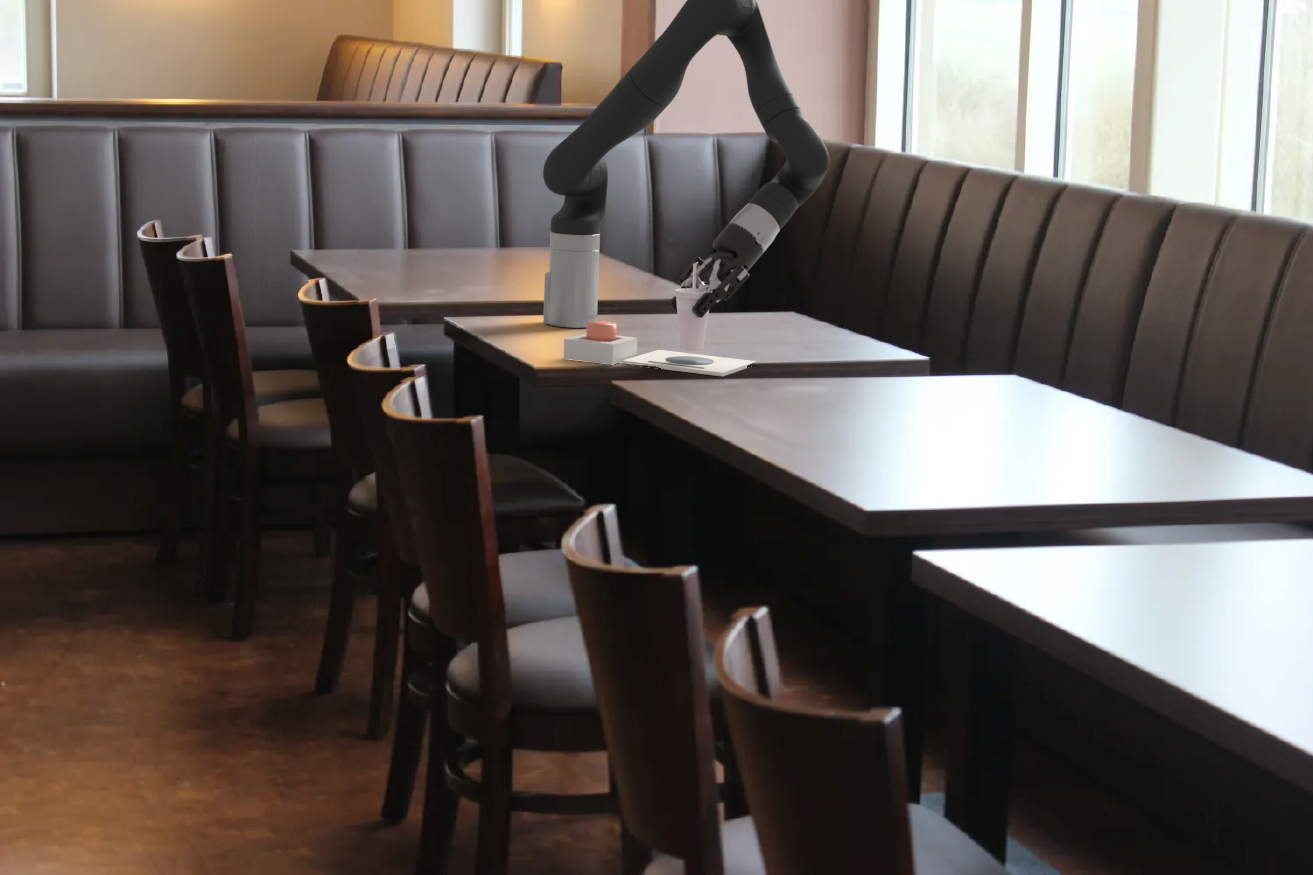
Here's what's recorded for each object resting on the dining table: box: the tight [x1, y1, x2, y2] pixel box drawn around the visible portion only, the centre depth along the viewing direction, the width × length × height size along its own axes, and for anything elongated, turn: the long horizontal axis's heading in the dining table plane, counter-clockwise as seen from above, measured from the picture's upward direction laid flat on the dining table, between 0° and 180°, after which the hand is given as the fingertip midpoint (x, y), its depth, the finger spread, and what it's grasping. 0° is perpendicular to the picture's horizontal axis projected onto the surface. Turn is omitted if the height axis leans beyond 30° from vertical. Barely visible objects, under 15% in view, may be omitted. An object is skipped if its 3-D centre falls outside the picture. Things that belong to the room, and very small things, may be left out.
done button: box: [585, 320, 618, 342], centre depth 282 cm, size 5×5×4 cm
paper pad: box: [622, 349, 757, 377], centre depth 282 cm, size 18×14×1 cm
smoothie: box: [673, 264, 710, 352], centre depth 280 cm, size 6×6×14 cm
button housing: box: [563, 332, 638, 364], centre depth 283 cm, size 9×9×4 cm
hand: (684, 311), depth 279 cm, fingers closed on smoothie, 6 cm apart
